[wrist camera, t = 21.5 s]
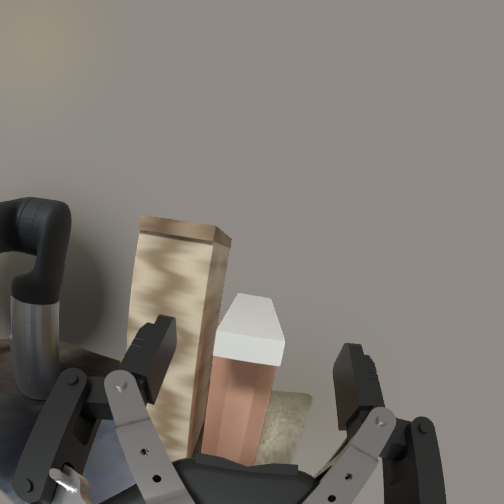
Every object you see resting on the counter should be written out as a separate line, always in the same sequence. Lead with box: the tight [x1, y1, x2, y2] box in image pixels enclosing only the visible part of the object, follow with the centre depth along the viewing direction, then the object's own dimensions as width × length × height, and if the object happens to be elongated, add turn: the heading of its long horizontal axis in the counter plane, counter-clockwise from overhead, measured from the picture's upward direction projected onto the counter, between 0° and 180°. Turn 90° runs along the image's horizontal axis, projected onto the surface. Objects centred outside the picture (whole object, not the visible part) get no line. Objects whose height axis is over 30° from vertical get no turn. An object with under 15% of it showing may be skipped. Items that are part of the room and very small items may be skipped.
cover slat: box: [213, 293, 285, 366], centre depth 31 cm, size 5×23×2 cm, turn 178°
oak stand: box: [126, 215, 232, 462], centre depth 35 cm, size 8×17×32 cm, turn 178°
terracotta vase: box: [201, 318, 276, 466], centre depth 31 cm, size 7×7×22 cm
